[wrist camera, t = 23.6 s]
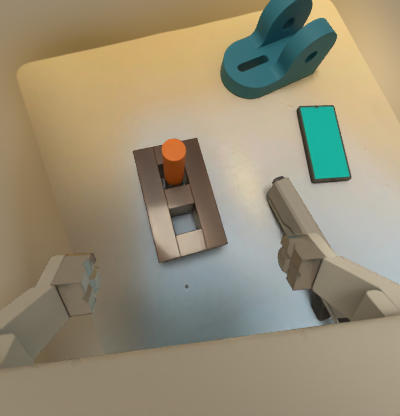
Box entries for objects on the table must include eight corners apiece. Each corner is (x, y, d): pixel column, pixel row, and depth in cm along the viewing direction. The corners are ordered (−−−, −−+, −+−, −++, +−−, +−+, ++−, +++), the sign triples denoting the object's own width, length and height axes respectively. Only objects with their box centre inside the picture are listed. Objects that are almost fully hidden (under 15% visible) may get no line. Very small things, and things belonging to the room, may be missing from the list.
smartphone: (314, 181, 44) (298, 106, 47) (311, 183, 44) (296, 108, 48) (352, 178, 45) (334, 105, 48) (349, 180, 45) (331, 107, 49)
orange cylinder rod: (167, 196, 41) (164, 163, 28) (163, 180, 42) (158, 141, 28) (184, 192, 42) (188, 158, 28) (179, 177, 42) (182, 136, 29)
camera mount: (285, 33, 52) (312, -23, 41) (312, 73, 50) (348, 25, 40) (210, 63, 48) (220, 9, 38) (237, 106, 47) (255, 62, 36)
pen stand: (161, 262, 39) (159, 262, 33) (138, 166, 42) (132, 150, 36) (220, 246, 40) (228, 243, 35) (193, 154, 44) (196, 137, 38)
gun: (331, 346, 38) (374, 353, 29) (257, 205, 47) (272, 177, 38) (344, 339, 38) (392, 344, 29) (269, 201, 48) (286, 173, 39)
